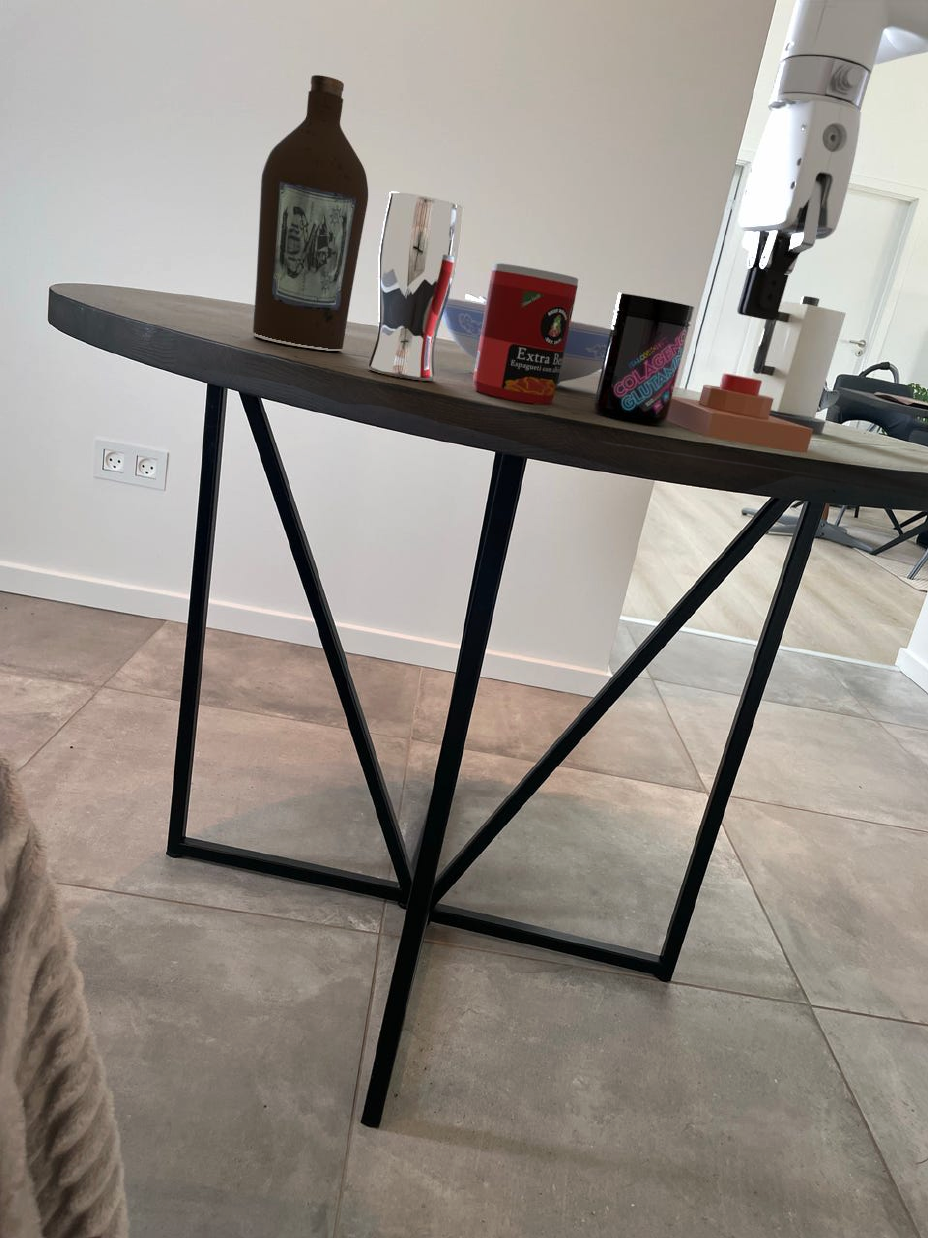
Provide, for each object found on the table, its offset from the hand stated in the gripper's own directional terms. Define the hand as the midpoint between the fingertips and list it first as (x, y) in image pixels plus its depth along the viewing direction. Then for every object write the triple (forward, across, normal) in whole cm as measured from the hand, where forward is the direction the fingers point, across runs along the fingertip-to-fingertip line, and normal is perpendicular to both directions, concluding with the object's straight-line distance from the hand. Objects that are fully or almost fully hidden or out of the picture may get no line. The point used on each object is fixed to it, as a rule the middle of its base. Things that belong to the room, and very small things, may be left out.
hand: (755, 316), depth 85 cm
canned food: (+11, +2, +21) cm, 24 cm away
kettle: (+9, +21, -17) cm, 29 cm away
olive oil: (+11, +21, +40) cm, 46 cm away
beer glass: (+11, +5, +31) cm, 33 cm away
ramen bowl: (+11, +24, +14) cm, 30 cm away
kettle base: (+10, +21, -17) cm, 29 cm away
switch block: (+11, 0, 0) cm, 11 cm away
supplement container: (+11, -2, +11) cm, 15 cm away
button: (+7, 0, 0) cm, 7 cm away
